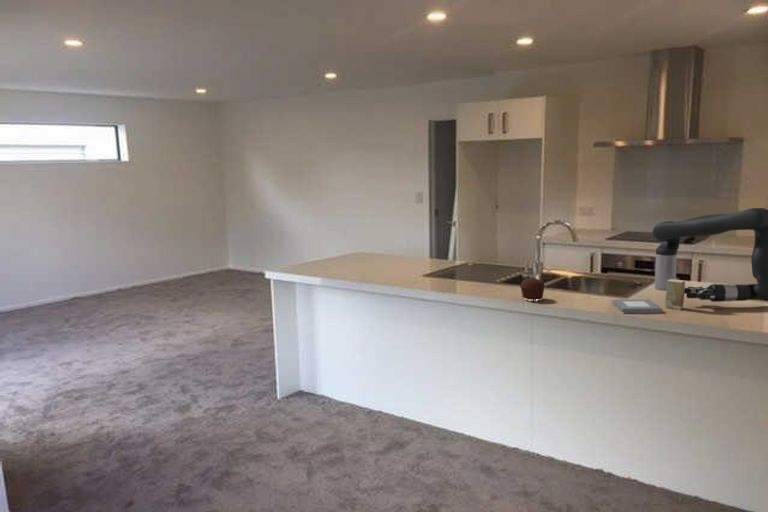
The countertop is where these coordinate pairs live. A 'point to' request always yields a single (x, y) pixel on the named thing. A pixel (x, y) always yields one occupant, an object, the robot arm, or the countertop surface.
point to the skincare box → (675, 294)
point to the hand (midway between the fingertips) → (682, 293)
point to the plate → (637, 306)
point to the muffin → (532, 288)
